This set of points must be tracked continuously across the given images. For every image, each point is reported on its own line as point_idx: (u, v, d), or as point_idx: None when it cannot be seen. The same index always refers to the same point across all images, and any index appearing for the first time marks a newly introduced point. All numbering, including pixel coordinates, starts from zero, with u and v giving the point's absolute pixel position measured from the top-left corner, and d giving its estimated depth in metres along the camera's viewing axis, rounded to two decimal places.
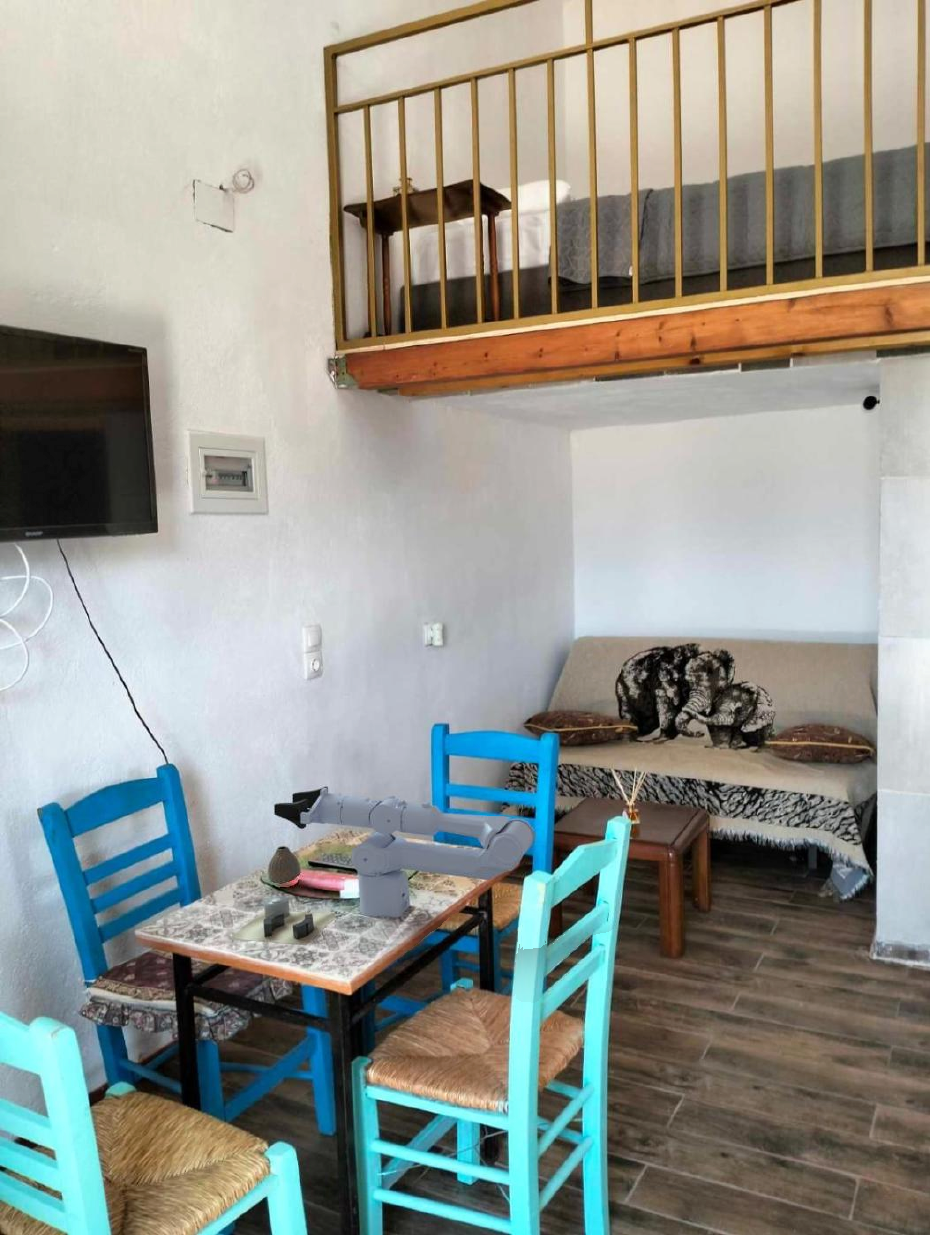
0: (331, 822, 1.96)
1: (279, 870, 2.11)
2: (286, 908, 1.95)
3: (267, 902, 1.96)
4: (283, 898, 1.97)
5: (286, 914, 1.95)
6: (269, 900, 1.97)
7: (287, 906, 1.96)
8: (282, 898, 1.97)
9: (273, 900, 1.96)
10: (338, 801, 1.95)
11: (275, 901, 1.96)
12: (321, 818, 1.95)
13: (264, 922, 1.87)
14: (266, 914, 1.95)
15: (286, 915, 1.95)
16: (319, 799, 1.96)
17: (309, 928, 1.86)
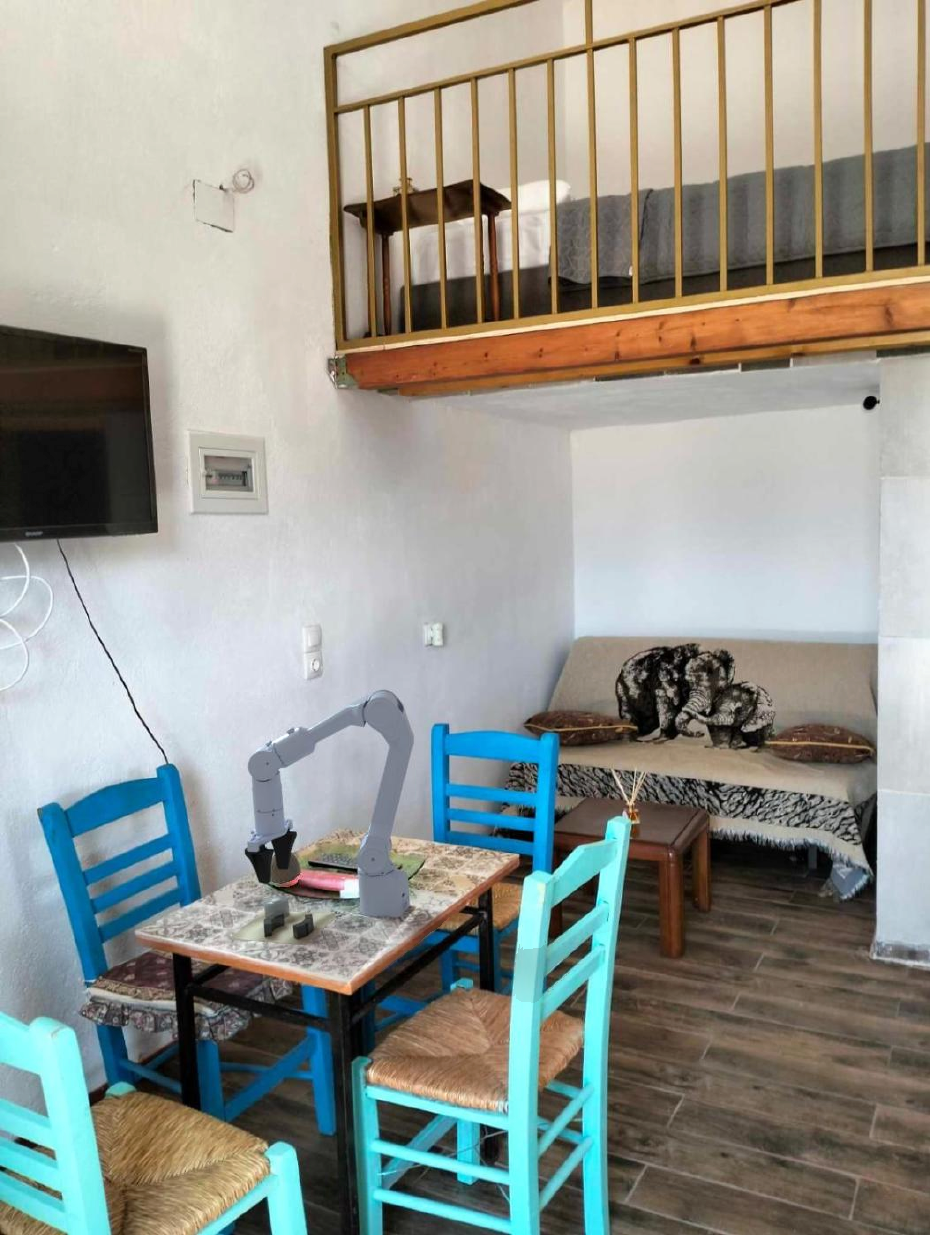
0: (274, 822, 1.92)
1: (279, 870, 2.11)
2: (287, 907, 1.95)
3: (267, 902, 1.96)
4: (283, 898, 1.97)
5: (286, 913, 1.95)
6: (269, 900, 1.97)
7: (287, 905, 1.96)
8: (282, 898, 1.97)
9: (273, 900, 1.96)
10: (254, 814, 1.94)
11: (275, 901, 1.96)
12: (269, 832, 1.92)
13: (264, 922, 1.87)
14: (266, 914, 1.95)
15: (286, 914, 1.95)
16: None
17: (309, 928, 1.86)
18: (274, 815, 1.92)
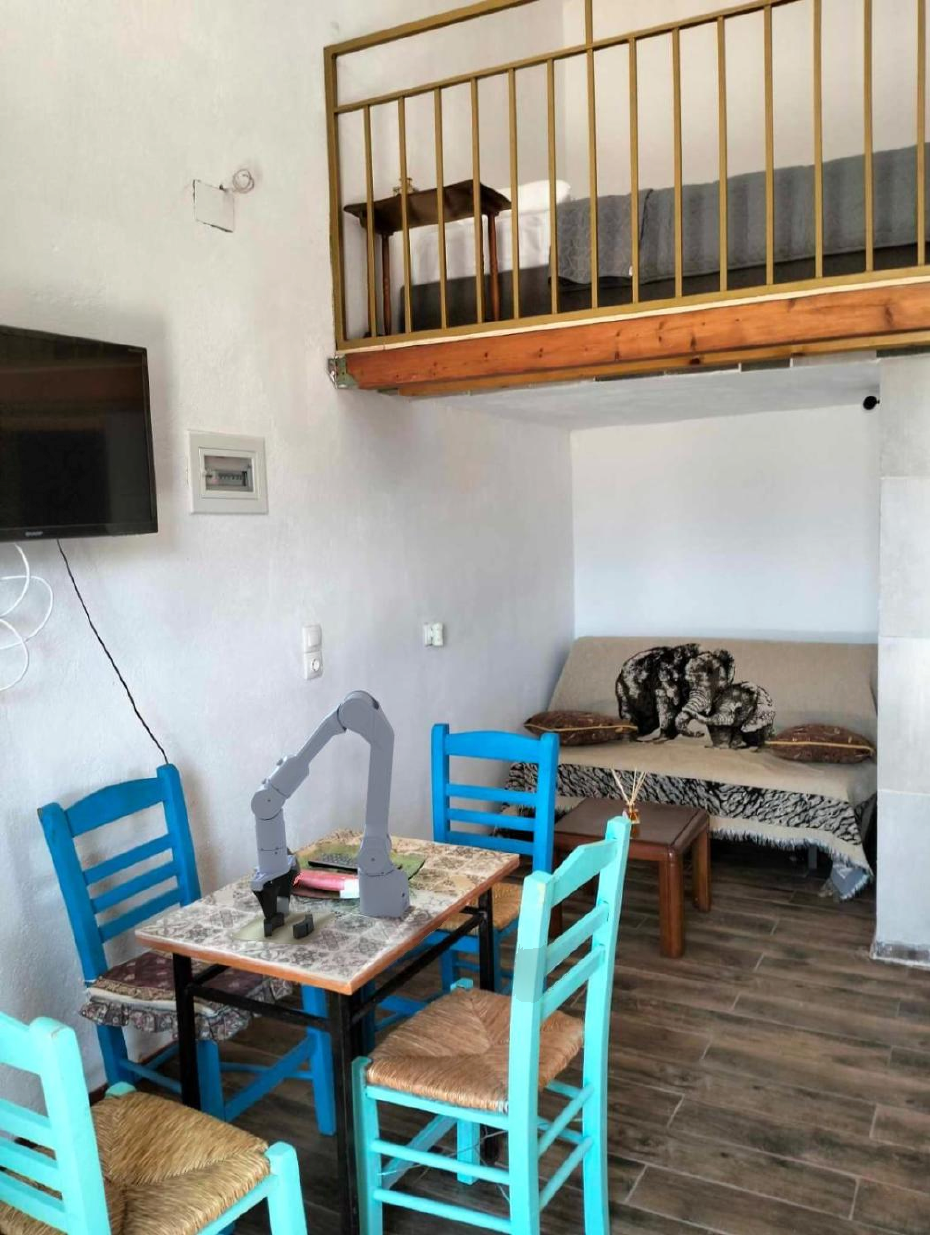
0: (277, 861, 1.93)
1: None
2: (287, 907, 1.96)
3: None
4: (283, 898, 1.97)
5: (286, 913, 1.95)
6: None
7: (287, 905, 1.96)
8: (282, 898, 1.97)
9: None
10: (257, 852, 1.94)
11: None
12: (272, 870, 1.93)
13: (264, 922, 1.87)
14: None
15: (287, 914, 1.95)
16: (257, 872, 1.94)
17: (309, 928, 1.86)
18: (277, 853, 1.93)
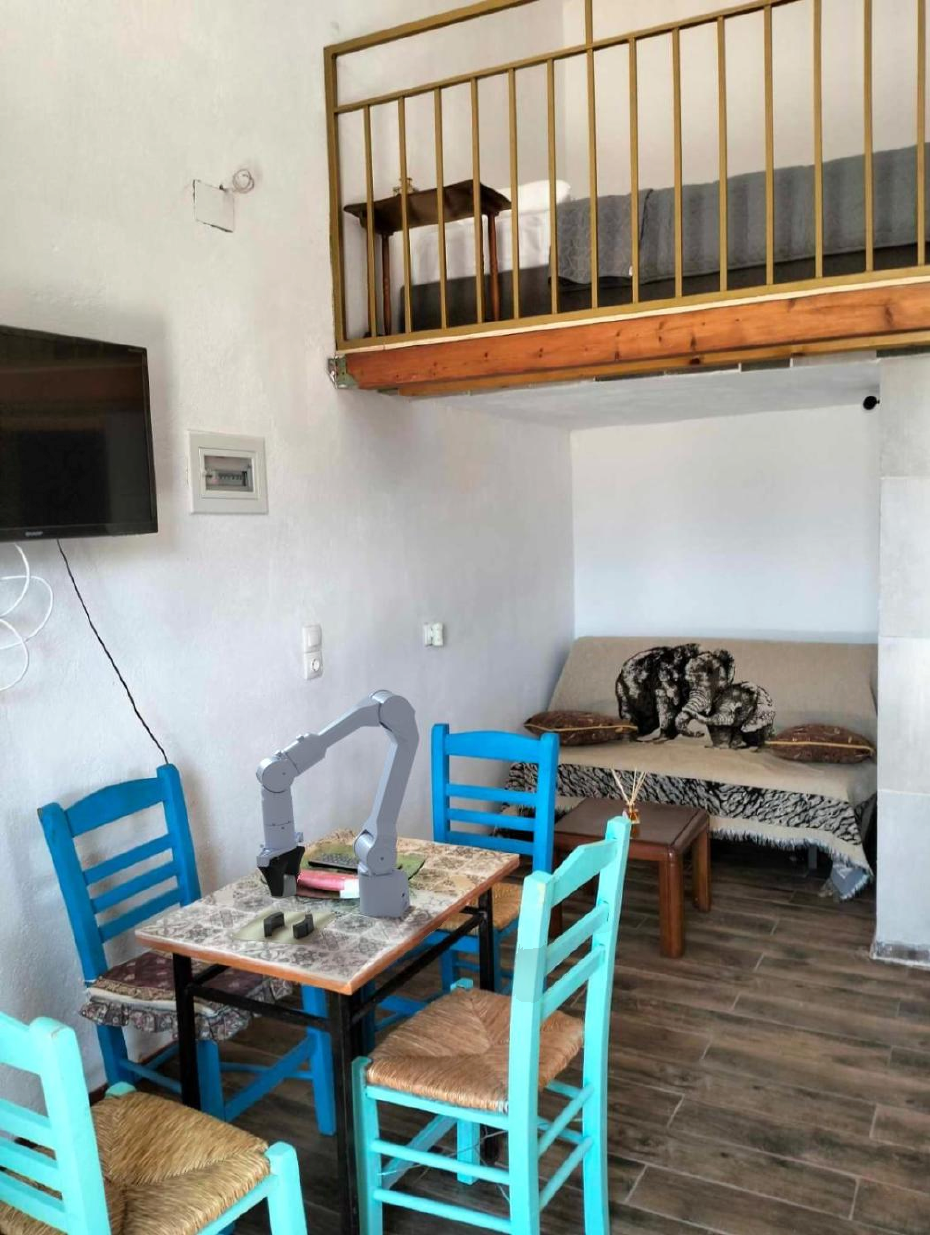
0: (284, 836, 1.85)
1: None
2: (293, 885, 1.88)
3: None
4: (289, 875, 1.90)
5: (293, 892, 1.88)
6: None
7: (294, 883, 1.88)
8: (288, 875, 1.90)
9: None
10: None
11: None
12: (279, 846, 1.85)
13: (264, 922, 1.87)
14: None
15: (293, 893, 1.88)
16: (263, 848, 1.87)
17: (309, 928, 1.86)
18: (284, 828, 1.85)
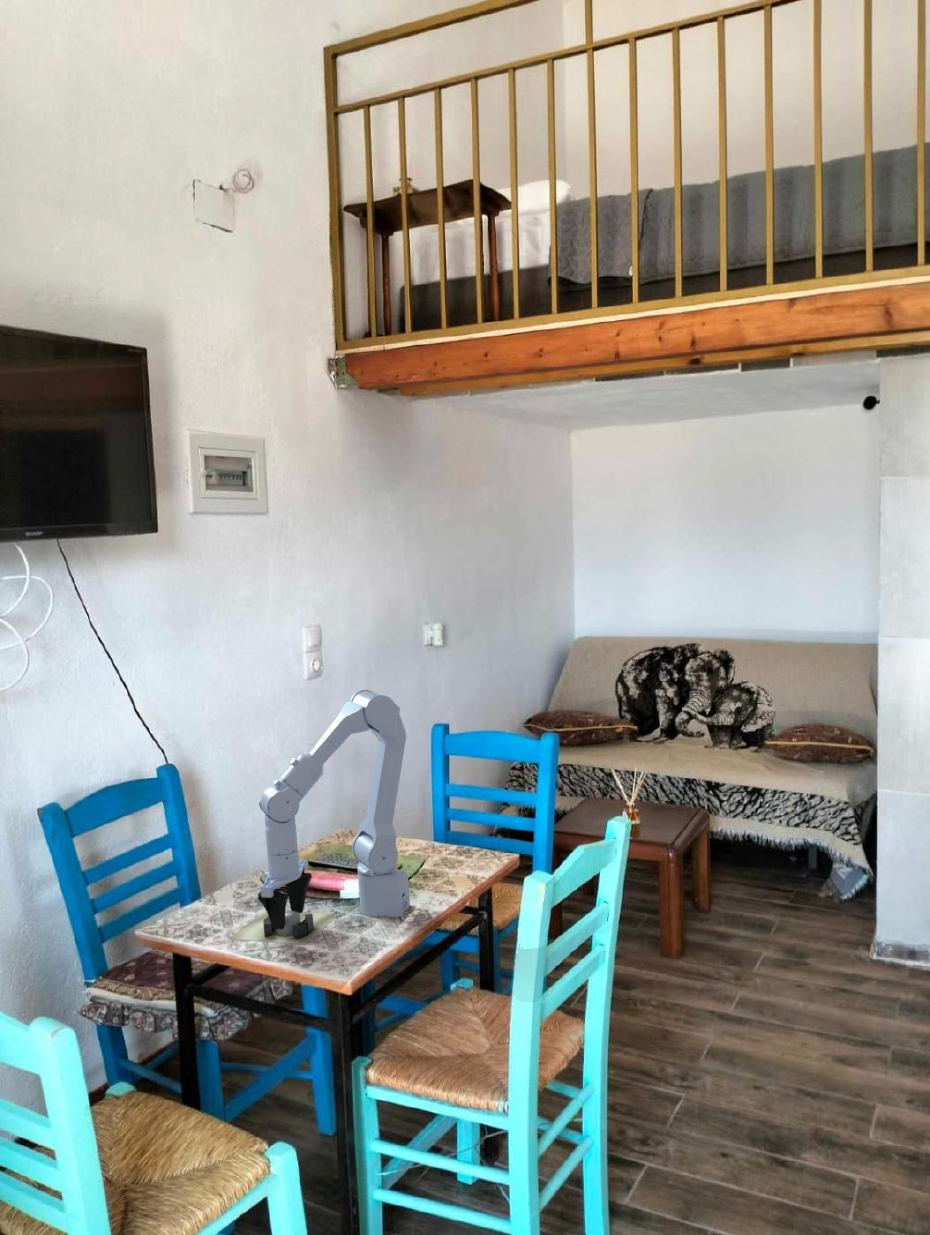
0: (288, 866, 1.85)
1: None
2: None
3: None
4: (294, 913, 1.89)
5: None
6: None
7: (299, 921, 1.88)
8: (293, 913, 1.90)
9: None
10: None
11: (286, 916, 1.88)
12: (283, 876, 1.85)
13: (264, 922, 1.87)
14: (277, 930, 1.87)
15: None
16: (267, 878, 1.86)
17: (309, 928, 1.86)
18: (288, 858, 1.85)
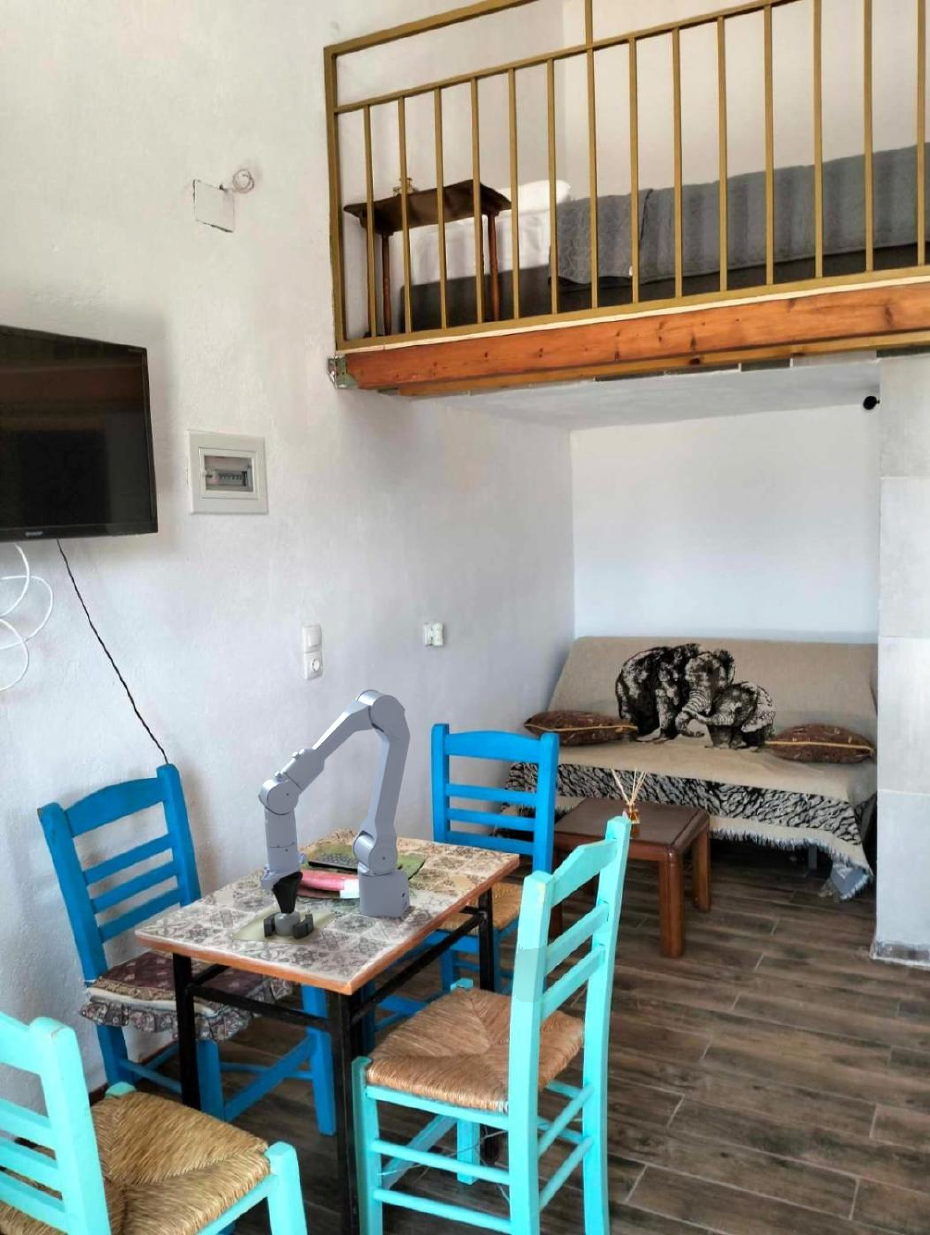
0: (288, 858, 1.85)
1: None
2: None
3: (278, 917, 1.88)
4: (294, 913, 1.89)
5: None
6: (280, 915, 1.89)
7: (299, 921, 1.88)
8: (293, 913, 1.89)
9: (284, 915, 1.88)
10: (267, 849, 1.86)
11: (286, 916, 1.88)
12: (283, 868, 1.84)
13: (264, 922, 1.87)
14: (277, 929, 1.87)
15: None
16: (266, 870, 1.86)
17: (309, 928, 1.86)
18: (288, 850, 1.85)
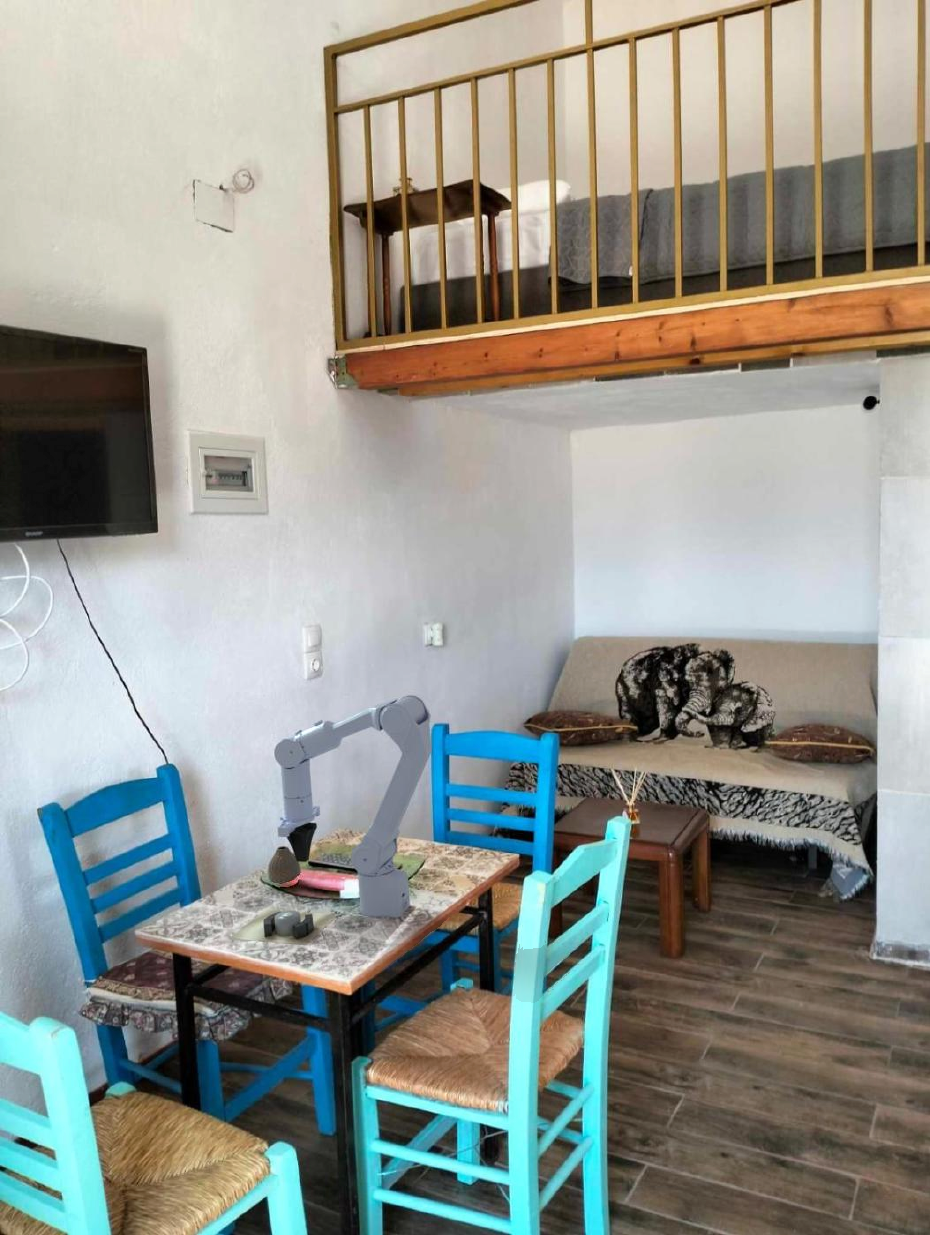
0: (303, 809, 1.97)
1: (279, 870, 2.11)
2: None
3: (278, 916, 1.88)
4: (295, 913, 1.89)
5: None
6: (280, 914, 1.89)
7: (298, 921, 1.88)
8: (294, 913, 1.89)
9: (284, 915, 1.88)
10: None
11: (286, 916, 1.88)
12: (298, 818, 1.97)
13: (264, 922, 1.87)
14: (276, 929, 1.87)
15: None
16: (283, 820, 1.99)
17: (309, 928, 1.86)
18: (303, 801, 1.97)
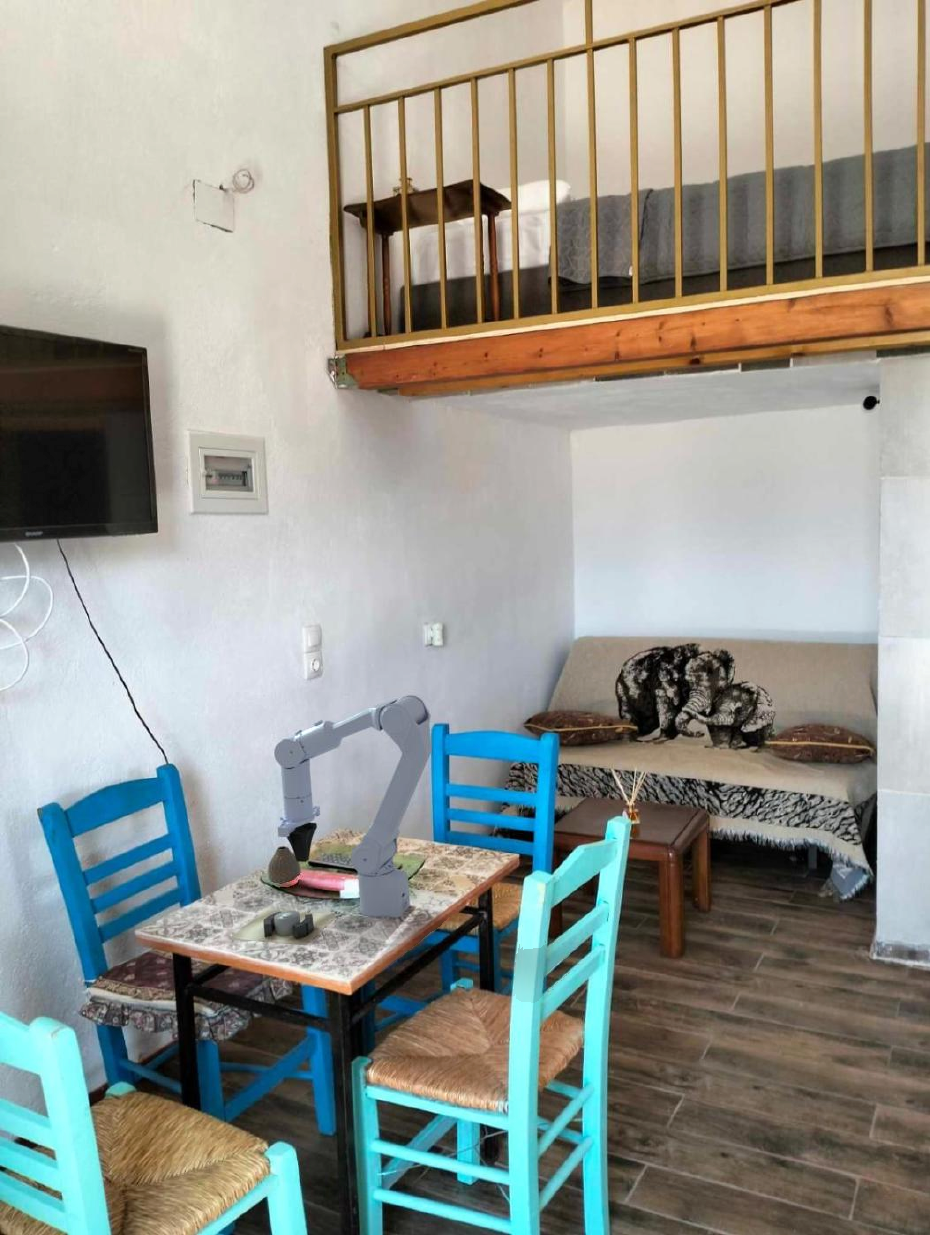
0: (303, 809, 1.97)
1: (279, 870, 2.11)
2: (297, 923, 1.87)
3: (277, 916, 1.88)
4: (294, 913, 1.89)
5: None
6: (280, 914, 1.89)
7: (298, 921, 1.88)
8: (293, 913, 1.89)
9: (284, 915, 1.88)
10: None
11: (286, 916, 1.88)
12: (298, 818, 1.97)
13: (264, 922, 1.87)
14: (276, 929, 1.87)
15: None
16: (283, 820, 1.99)
17: (309, 928, 1.86)
18: (303, 801, 1.97)
